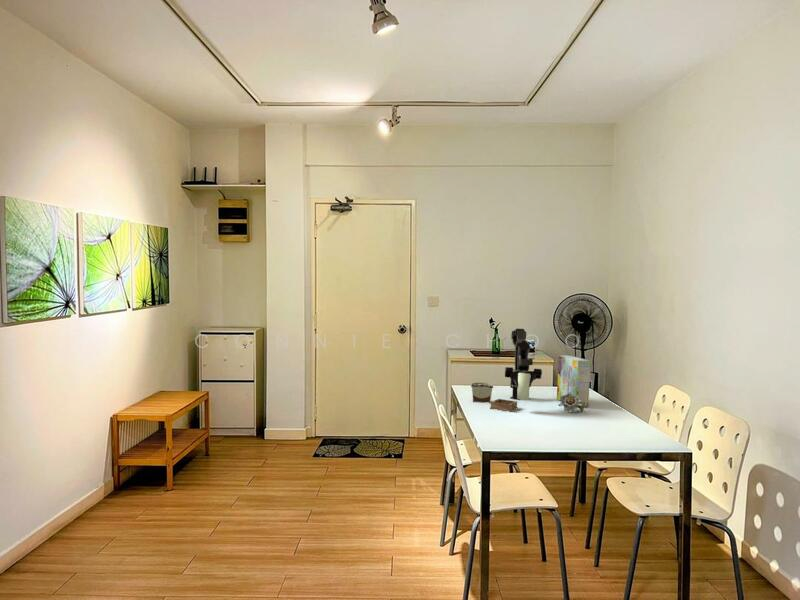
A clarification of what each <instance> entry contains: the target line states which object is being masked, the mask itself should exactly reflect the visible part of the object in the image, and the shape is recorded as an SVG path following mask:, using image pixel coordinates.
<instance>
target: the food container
mask: <svg viewBox="0 0 800 600" xmlns="http://www.w3.org/2000/svg"><path fill="white" fill-rule="evenodd" d="M470 388H471V392H472V402H473V403H483V402H490V403H491V399H492V392H493V389H494V385H493V383H488V382H472V383H471V385H470Z"/></svg>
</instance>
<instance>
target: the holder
mask: <svg viewBox="0 0 800 600" xmlns="http://www.w3.org/2000/svg"><path fill="white" fill-rule="evenodd" d="M516 408H517V409H518V401H515V400H511V399H510V400H508V399H502V398H498V399H495V400H493V401H490V406H489V409H491V410H494V409H497V410H496V411H500V410H503V411H502V412H507V411H509V412H508V413H510V411H511V412H513V411H515V410H517V409H516ZM514 409H515V410H514ZM512 410H513V411H512Z"/></svg>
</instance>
